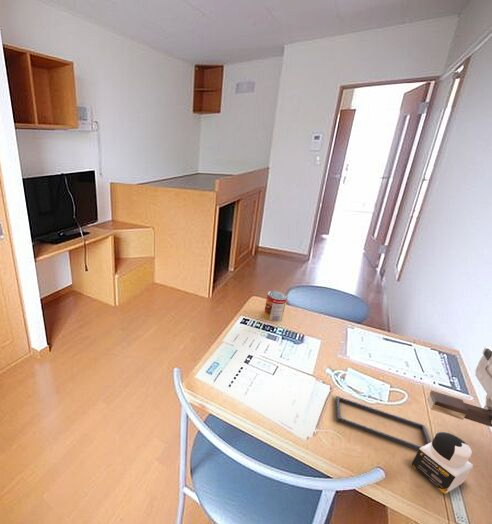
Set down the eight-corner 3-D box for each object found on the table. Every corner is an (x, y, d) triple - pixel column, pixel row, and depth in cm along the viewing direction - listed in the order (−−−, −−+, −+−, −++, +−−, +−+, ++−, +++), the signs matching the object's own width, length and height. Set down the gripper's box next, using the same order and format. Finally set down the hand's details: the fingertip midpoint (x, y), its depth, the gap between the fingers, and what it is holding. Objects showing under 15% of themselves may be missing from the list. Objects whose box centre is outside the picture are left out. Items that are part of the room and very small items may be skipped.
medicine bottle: (409, 467, 76) (426, 433, 71) (426, 457, 78) (445, 424, 74) (443, 496, 70) (465, 461, 65) (461, 484, 72) (484, 450, 68)
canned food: (276, 313, 142) (281, 290, 137) (285, 322, 135) (290, 299, 130) (260, 313, 142) (264, 290, 137) (268, 323, 134) (272, 299, 130)
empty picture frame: (421, 430, 86) (424, 425, 85) (431, 458, 78) (434, 452, 78) (335, 400, 95) (336, 395, 94) (336, 423, 88) (338, 417, 87)
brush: (513, 426, 72) (520, 417, 71) (522, 439, 68) (529, 430, 67) (426, 398, 79) (431, 390, 78) (431, 410, 76) (435, 401, 74)
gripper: (574, 413, 57) (536, 463, 62) (517, 351, 73) (491, 394, 78) (526, 400, 59) (493, 448, 65) (481, 343, 76) (458, 385, 81)
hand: (491, 418), depth 72 cm, fingers closed on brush, 2 cm apart
